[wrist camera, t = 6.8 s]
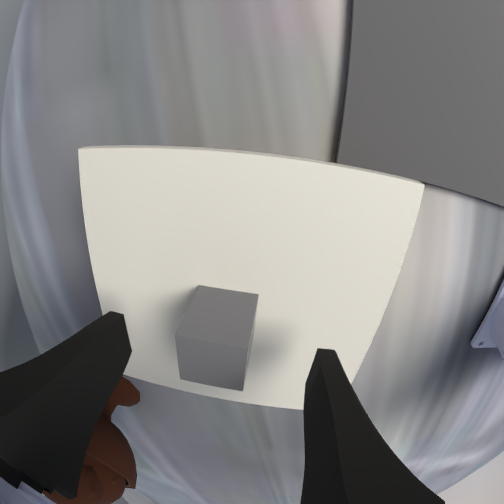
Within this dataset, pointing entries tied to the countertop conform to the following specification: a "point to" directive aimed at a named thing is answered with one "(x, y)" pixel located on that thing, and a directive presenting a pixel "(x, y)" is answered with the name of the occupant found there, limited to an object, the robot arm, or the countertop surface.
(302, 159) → the cover sheet
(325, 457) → the robot arm
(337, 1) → the countertop surface
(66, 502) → the ice cream bowl
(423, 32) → the mat
